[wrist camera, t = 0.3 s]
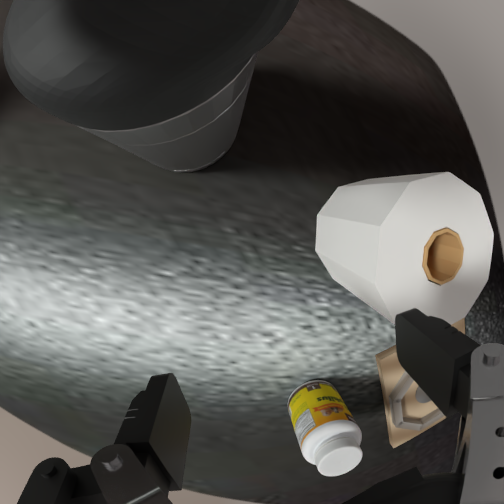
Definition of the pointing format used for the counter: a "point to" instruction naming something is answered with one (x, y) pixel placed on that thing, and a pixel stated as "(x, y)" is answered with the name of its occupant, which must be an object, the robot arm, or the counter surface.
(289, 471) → the counter surface
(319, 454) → the supplement bottle
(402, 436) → the seat plate
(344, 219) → the toilet paper
